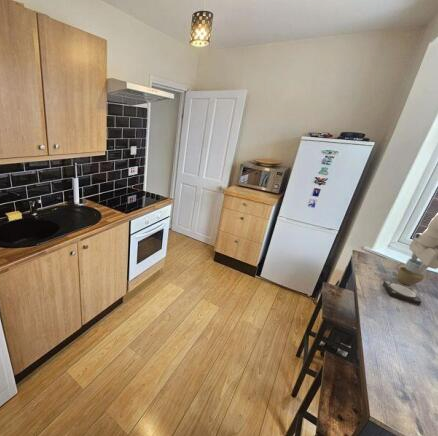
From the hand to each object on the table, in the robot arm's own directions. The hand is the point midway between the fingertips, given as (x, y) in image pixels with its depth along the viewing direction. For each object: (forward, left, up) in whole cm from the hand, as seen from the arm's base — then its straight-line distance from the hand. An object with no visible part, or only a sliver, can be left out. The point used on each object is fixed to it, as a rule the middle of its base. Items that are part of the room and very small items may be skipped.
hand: (416, 266), depth 113 cm
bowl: (0, 0, -2) cm, 2 cm away
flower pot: (-7, -14, -17) cm, 23 cm away
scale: (0, +2, -17) cm, 17 cm away
